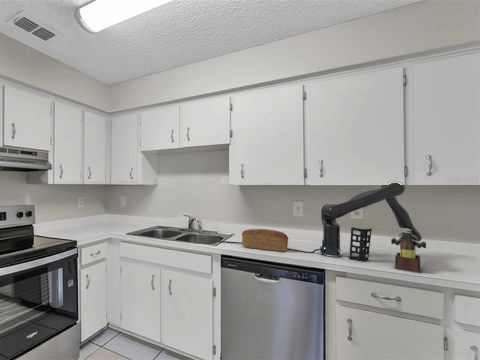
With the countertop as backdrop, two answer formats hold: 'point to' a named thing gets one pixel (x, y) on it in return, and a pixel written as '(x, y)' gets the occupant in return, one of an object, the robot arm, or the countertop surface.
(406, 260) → the wooden sleeve
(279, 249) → the bread
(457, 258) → the countertop surface
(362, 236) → the holder
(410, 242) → the sauce bottle
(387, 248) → the countertop surface
